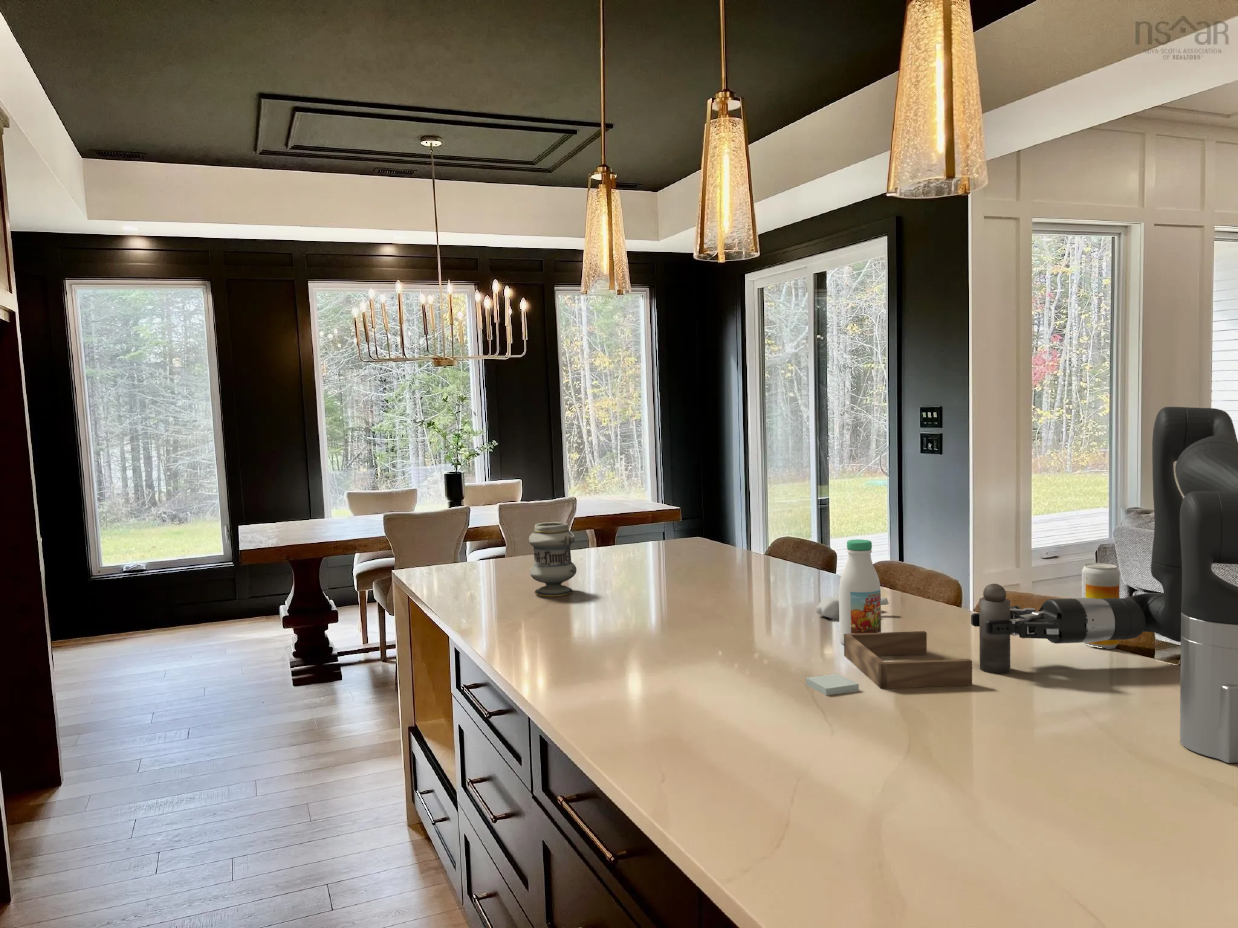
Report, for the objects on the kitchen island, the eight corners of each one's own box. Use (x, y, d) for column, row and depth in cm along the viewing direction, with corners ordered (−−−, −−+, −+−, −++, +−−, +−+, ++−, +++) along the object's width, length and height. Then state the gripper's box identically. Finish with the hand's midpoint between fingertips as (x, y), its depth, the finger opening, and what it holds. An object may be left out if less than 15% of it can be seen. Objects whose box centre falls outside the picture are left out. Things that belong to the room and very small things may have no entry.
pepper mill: (1015, 673, 141) (1015, 585, 141) (987, 674, 141) (987, 586, 140) (1001, 664, 146) (1001, 580, 145) (974, 665, 146) (974, 581, 145)
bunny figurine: (808, 596, 187) (866, 583, 191) (811, 618, 188) (868, 604, 192) (831, 605, 178) (891, 590, 182) (834, 628, 179) (893, 613, 183)
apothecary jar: (526, 590, 221) (524, 522, 220) (570, 586, 225) (568, 519, 224) (535, 599, 210) (533, 527, 209) (582, 595, 213) (580, 524, 212)
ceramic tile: (858, 693, 135) (858, 683, 135) (826, 698, 133) (826, 688, 133) (837, 682, 140) (837, 673, 140) (805, 687, 138) (805, 677, 138)
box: (972, 684, 136) (972, 660, 136) (880, 688, 135) (880, 663, 135) (924, 652, 155) (924, 630, 155) (844, 655, 154) (843, 633, 154)
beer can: (1124, 650, 153) (1124, 568, 152) (1087, 649, 154) (1088, 568, 154) (1111, 641, 159) (1112, 562, 158) (1076, 640, 160) (1077, 562, 160)
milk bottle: (835, 646, 160) (834, 542, 159) (844, 636, 167) (843, 536, 166) (876, 650, 157) (876, 544, 156) (884, 640, 164) (883, 538, 163)
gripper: (1053, 590, 151) (960, 593, 150) (1102, 607, 137) (999, 611, 136) (1053, 631, 151) (960, 634, 151) (1102, 653, 137) (1000, 657, 136)
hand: (979, 623), depth 143 cm, fingers closed on pepper mill, 4 cm apart
